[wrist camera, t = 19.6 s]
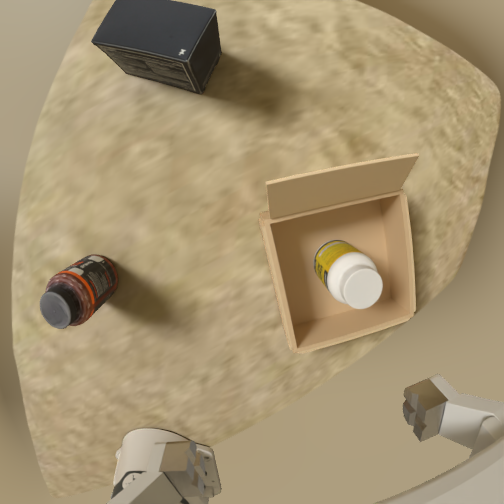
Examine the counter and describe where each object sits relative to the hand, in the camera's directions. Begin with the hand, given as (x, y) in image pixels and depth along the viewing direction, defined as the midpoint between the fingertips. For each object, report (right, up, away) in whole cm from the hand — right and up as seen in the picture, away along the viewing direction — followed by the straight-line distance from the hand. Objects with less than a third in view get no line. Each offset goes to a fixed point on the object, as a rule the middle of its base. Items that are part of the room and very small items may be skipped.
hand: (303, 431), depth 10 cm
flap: (+6, +12, +16) cm, 21 cm away
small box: (-11, +29, +21) cm, 37 cm away
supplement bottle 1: (-21, +4, +26) cm, 34 cm away
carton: (+8, +6, +27) cm, 29 cm away
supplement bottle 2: (+8, +6, +27) cm, 28 cm away
